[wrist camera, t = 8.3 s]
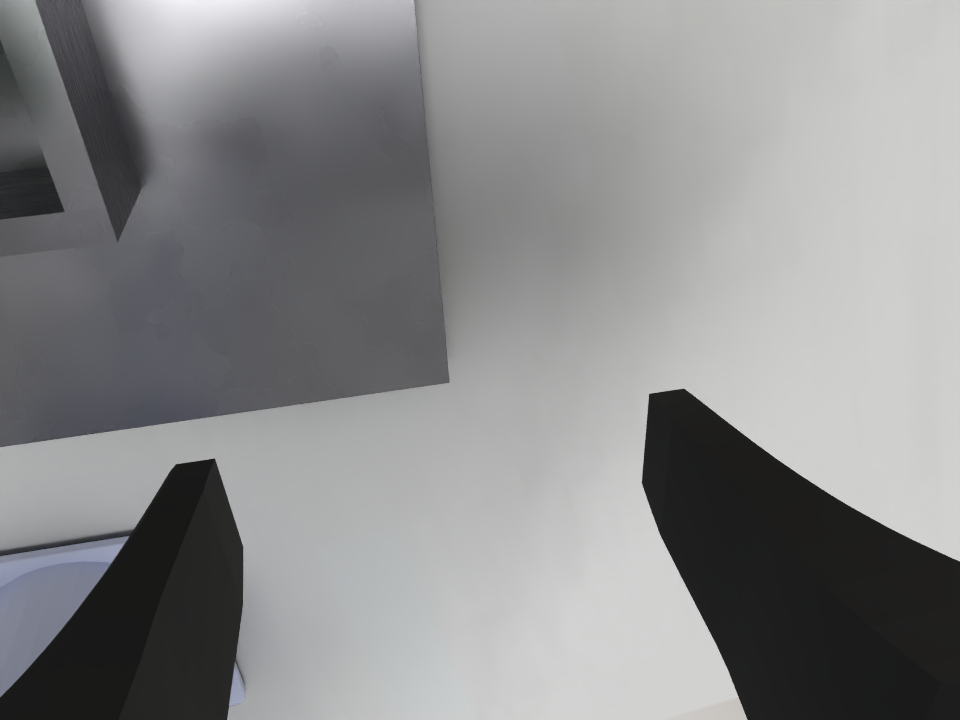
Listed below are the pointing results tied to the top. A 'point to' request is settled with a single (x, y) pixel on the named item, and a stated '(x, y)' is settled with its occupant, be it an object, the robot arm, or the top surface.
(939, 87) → the top surface
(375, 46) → the post base
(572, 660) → the top surface
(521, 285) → the top surface
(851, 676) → the robot arm
